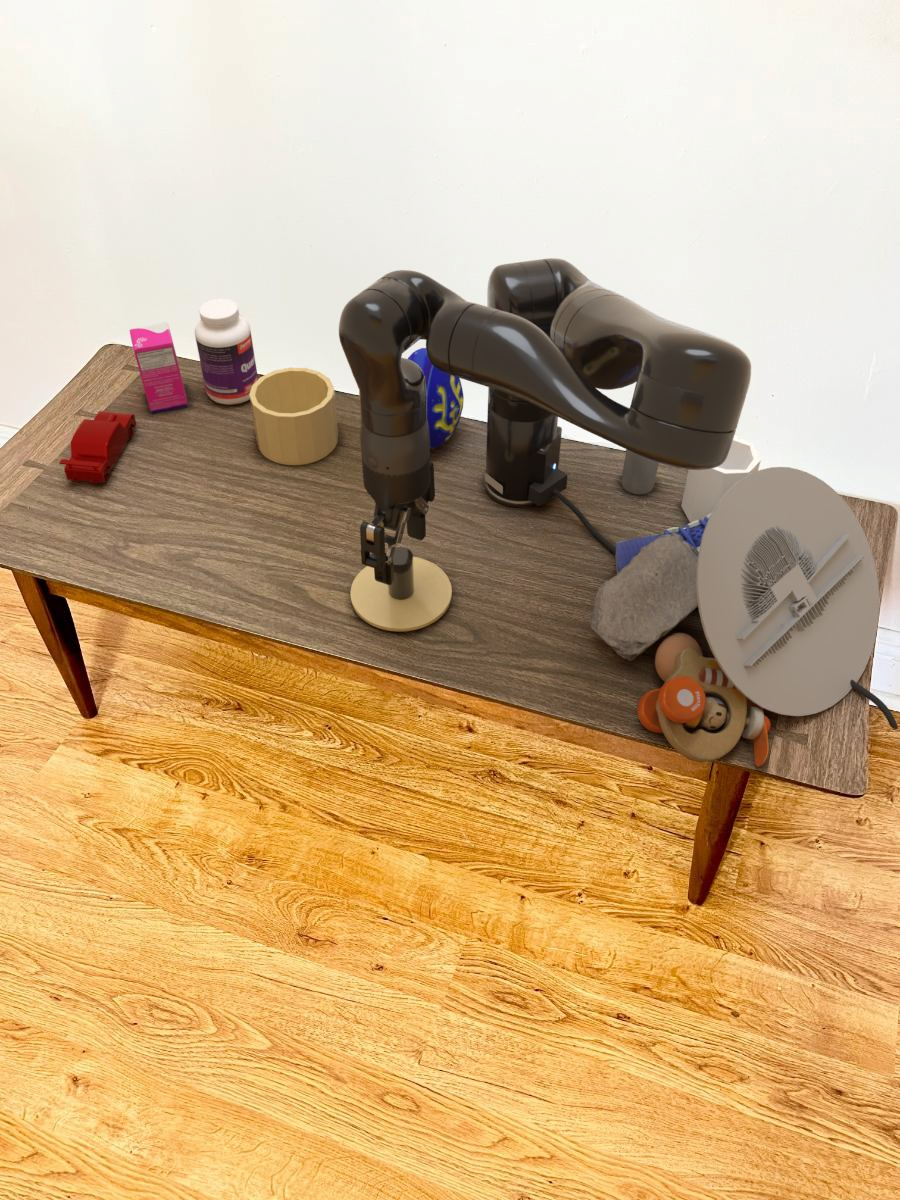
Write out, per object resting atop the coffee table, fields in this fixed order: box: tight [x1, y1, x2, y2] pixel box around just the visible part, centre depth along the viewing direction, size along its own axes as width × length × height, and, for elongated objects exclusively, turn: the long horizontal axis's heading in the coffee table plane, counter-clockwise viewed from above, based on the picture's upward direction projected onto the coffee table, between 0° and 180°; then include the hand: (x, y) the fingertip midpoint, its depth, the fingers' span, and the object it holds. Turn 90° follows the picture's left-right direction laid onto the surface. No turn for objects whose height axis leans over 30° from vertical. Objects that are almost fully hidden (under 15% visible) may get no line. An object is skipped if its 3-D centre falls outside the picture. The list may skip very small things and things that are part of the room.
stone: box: [588, 533, 699, 662], centre depth 126 cm, size 15×5×10 cm
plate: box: [696, 466, 880, 717], centre depth 120 cm, size 28×28×1 cm
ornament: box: [407, 347, 465, 450], centre depth 150 cm, size 11×9×15 cm
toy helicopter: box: [636, 648, 771, 767], centre depth 118 cm, size 8×21×14 cm
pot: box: [249, 367, 339, 466], centre depth 153 cm, size 12×12×8 cm
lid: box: [349, 546, 453, 632], centre depth 131 cm, size 13×13×7 cm
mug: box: [680, 434, 762, 523], centre depth 142 cm, size 12×9×10 cm
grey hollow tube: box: [621, 449, 659, 496], centre depth 145 cm, size 4×4×10 cm
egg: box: [654, 632, 704, 683], centre depth 123 cm, size 5×5×7 cm
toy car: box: [58, 410, 137, 485], centre depth 151 cm, size 14×6×5 cm, turn 172°
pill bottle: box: [194, 298, 259, 406], centre depth 159 cm, size 8×8×14 cm
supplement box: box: [129, 321, 189, 414], centre depth 158 cm, size 6×6×12 cm
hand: (401, 558), depth 129 cm, fingers open, 8 cm apart
